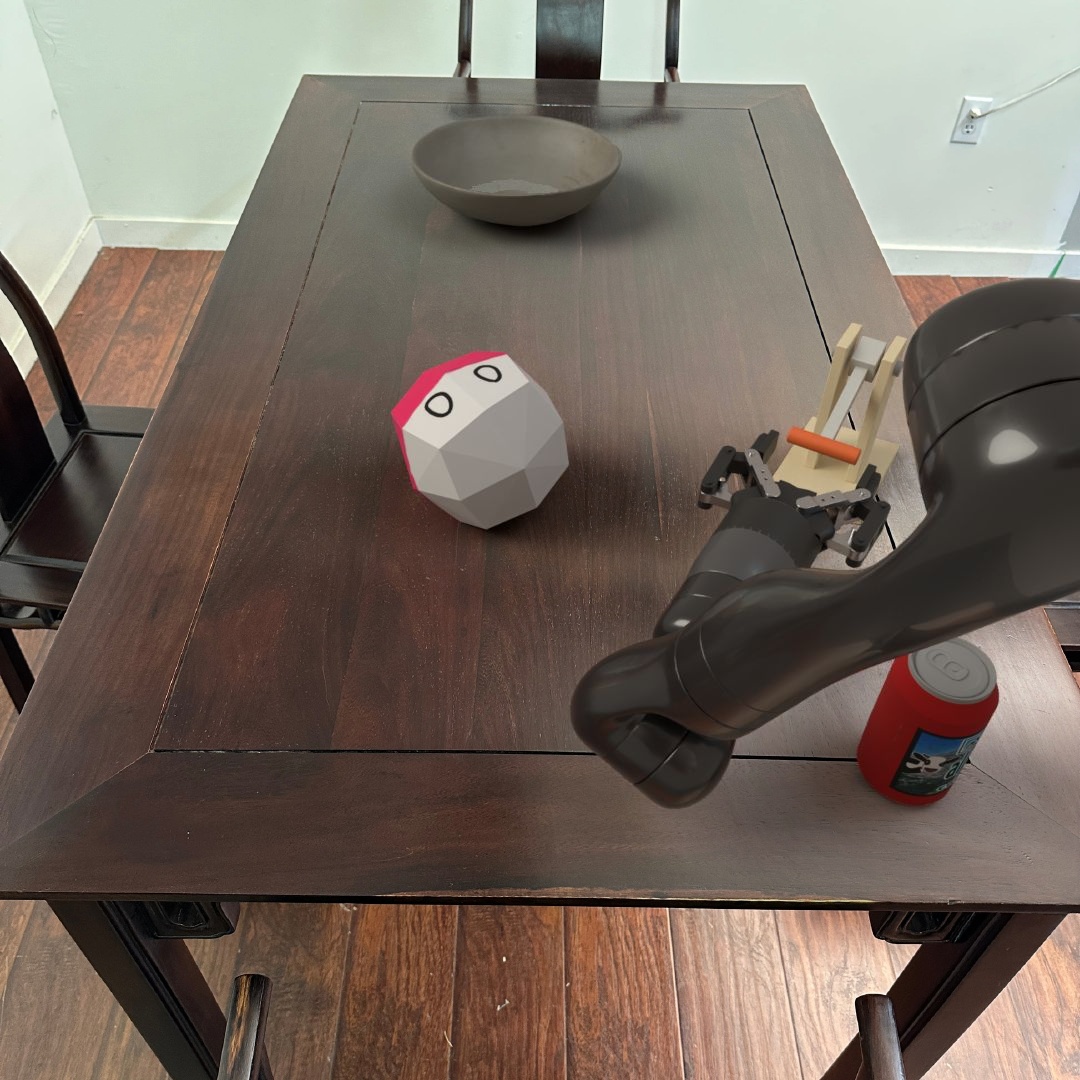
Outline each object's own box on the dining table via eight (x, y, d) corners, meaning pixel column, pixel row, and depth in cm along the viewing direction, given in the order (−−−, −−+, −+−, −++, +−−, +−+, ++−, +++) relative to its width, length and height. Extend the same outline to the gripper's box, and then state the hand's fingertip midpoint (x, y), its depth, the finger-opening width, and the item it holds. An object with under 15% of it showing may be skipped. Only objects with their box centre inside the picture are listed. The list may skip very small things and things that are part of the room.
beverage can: (912, 830, 66) (969, 728, 58) (833, 764, 70) (876, 659, 62) (968, 776, 69) (1030, 672, 61) (889, 716, 73) (938, 610, 65)
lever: (853, 472, 81) (857, 455, 79) (785, 448, 83) (787, 432, 81) (904, 366, 85) (909, 348, 83) (838, 346, 87) (841, 328, 85)
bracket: (859, 525, 88) (904, 392, 78) (767, 491, 92) (798, 358, 81) (896, 455, 96) (942, 325, 86) (809, 426, 99) (843, 297, 89)
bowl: (623, 258, 124) (629, 196, 118) (406, 255, 124) (400, 193, 118) (612, 170, 144) (616, 113, 138) (424, 167, 144) (420, 109, 138)
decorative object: (471, 301, 88) (560, 344, 77) (532, 425, 97) (619, 479, 86) (338, 396, 85) (411, 455, 74) (415, 515, 94) (489, 583, 83)
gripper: (854, 572, 67) (917, 448, 77) (667, 499, 72) (750, 392, 82) (829, 642, 72) (892, 517, 82) (657, 570, 77) (736, 461, 87)
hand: (821, 455), depth 82 cm, fingers open, 8 cm apart
